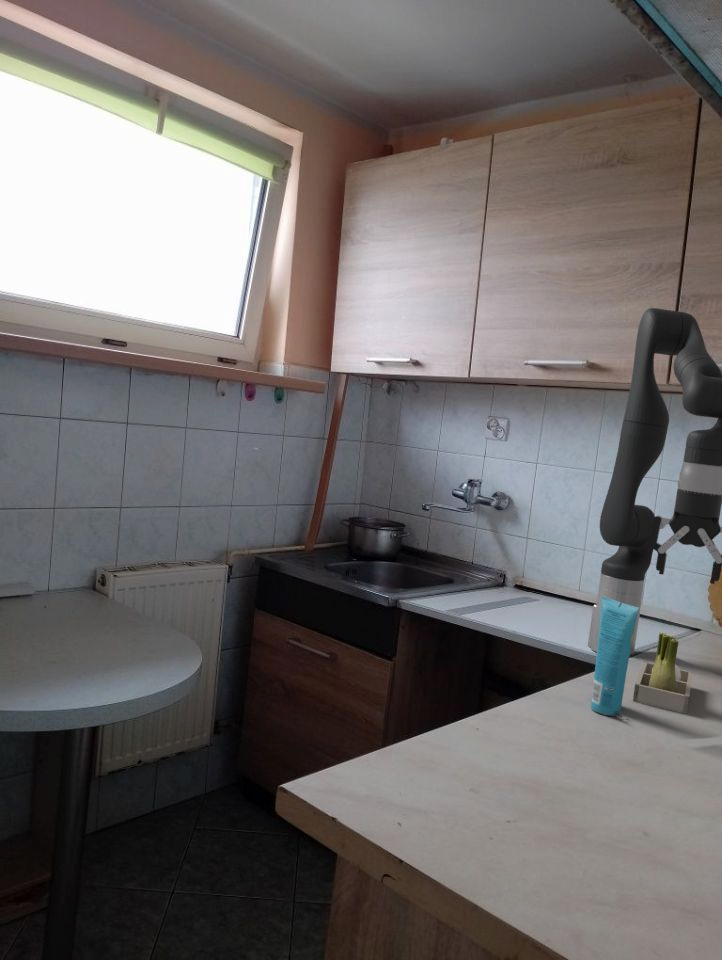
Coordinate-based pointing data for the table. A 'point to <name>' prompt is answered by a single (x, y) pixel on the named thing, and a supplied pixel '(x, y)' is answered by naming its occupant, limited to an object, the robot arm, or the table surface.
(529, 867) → the table surface
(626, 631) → the tube
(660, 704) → the tray
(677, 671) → the ceramic egg
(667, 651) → the fennel bulb
